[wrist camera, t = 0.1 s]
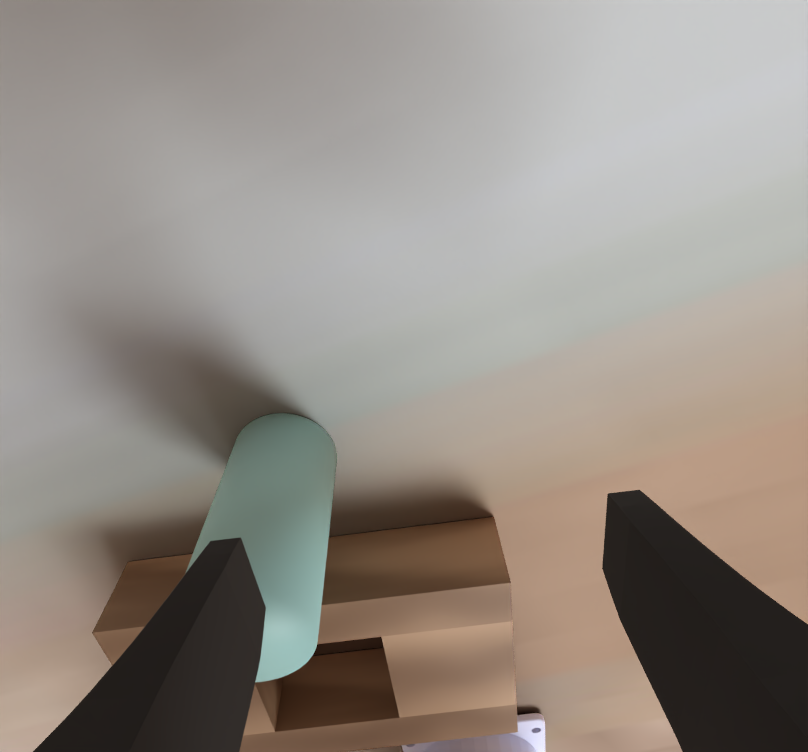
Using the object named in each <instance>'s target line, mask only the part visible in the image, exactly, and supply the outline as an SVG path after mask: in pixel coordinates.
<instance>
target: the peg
mask: <svg viewBox="0 0 808 752" xmlns="http://www.w3.org/2000/svg"><path fill="white" fill-rule="evenodd" d="M336 463H337V453H336V448H335V445H334V443H333V440H332V439H331V437H330V436H329V434H328V433H327V432H326V431H325V430H324V429H323V428H322V427H321V426H320V425H318V424H317V423H315V422H313V421H311V420H309V419H307V418H305V417H302V416H299V415H295V414H288V413H277V414H270V415H265V416H262V417H260V418H257V419H255V420H253V421H252V422H250V423H249V424H248V425H246V426H245V427H244V428H243V429H242V431H241V432H240V433H239V435H238V437H237V439H236V441H235V444H234V447H233V449H232V452H231V455H230V457H229V460H228V463H227V465H226V468H225V470H224V473H223V476H222V478H221V481H220V484H219V486H218V489H217V491H216V494H215V497H214V499H213V502H212V505H211V507H210V510H209V513H208V515H207V518H206V520H205V523H204V526H203V528H202V531H201V534H200V536H199V539H198V541H197V544H196V547H195V549H194V552H193V555H192V557H191V560H190V563H189V565H188V568H187V570H186V572H187V571H188V569H189V568H190V567H191V565H192V564H193V563H194V561H195V560H196V559H197V558H198V556H199V555H200V554H201V552H202V551H203V550H204V548H205V547H206V546H207V545H208V543H209V542H210V541H214V540H223V539H231V538H240V537H241V539H242V542H243V545H244V547H245V550H246V553H247V556H248V559H249V562H250V564H251V567H252V570H253V573H254V576H255V578H256V581H257V584H258V587H259V590H260V592H261V595H262V598H263V601H264V604H265V606H266V611H265V621H264V632H263V641H262V649H261V657H260V663H259V668H258V672H257V677H256V681H255V682H263V681H269V680H274V679H278V678H281V677H284V676H286V675H289V674H291V673H293V672H295V671H296V670H298V669H299V668H301V667H302V666H303V665H305V664H306V663H307V662H308V661H309V659H310V658H311V657H312V655H313V654H314V652H315V649H316V647H317V642H318V634H319V624H320V615H321V605H322V596H323V586H324V577H325V567H326V558H327V548H328V539H329V529H330V520H331V510H332V501H333V491H334V482H335V472H336Z"/></svg>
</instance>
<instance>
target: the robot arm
mask: <svg viewBox="0 0 808 752" xmlns="http://www.w3.org/2000/svg"><path fill="white" fill-rule="evenodd" d="M602 569H603V572H604V575H605V578H606V581H607V584H608V587H609V590H610V593H611V596H612V598H613V601H614V604H615V607H616V610H617V612H618V615H619V618H620V620H621V623H622V625H623V627H624V629H625V631H626V633H627V635H628V637H629V640H630V642H631V644H632V646H633V648H634V650H635V652H636V654H637V656H638V659H639V661H640V663H641V665H642V667H643V669H644V671H645V673H646V675H647V677H648V679H649V681H650V683H651V685H652V688H653V690H654V692H655V694H656V696H657V698H658V700H659V702H660V704H661V706H662V708H663V710H664V712H665V715H666V717H667V719H668V721H669V723H670V725H671V727H672V729H673V731H674V733H675V735H676V737H677V740H678V742H679V744H680V746H681V749H682V751H683V752H808V624H806V623H805V622H804V621H802V620H801V619H799V618H798V617H796V616H795V615H794V614H792V613H791V612H789V611H788V610H787V609H785V608H784V607H783V606H781V605H780V604H779V603H777V602H776V601H774V600H773V599H772V598H770V597H769V596H768V595H766V594H765V593H764V592H762V591H761V590H760V589H758V588H757V587H756V586H754V585H753V584H752V583H751V582H749V581H748V580H747V579H745V578H744V577H743V576H742V575H740V574H739V573H738V572H737V571H735V570H734V569H733V568H732V567H730V566H729V565H728V564H727V563H725V562H724V561H723V560H722V559H720V558H719V557H718V556H717V555H715V554H714V553H713V552H712V551H711V550H709V549H708V548H707V547H706V546H705V545H703V544H702V543H701V542H700V541H699V540H697V539H696V538H695V537H694V536H693V535H692V534H690V533H689V532H688V531H687V530H686V529H684V528H683V527H682V526H681V525H680V524H679V523H677V522H676V521H675V520H674V519H673V518H672V517H671V516H669V515H668V514H667V513H666V512H665V511H664V510H663V509H661V508H660V507H659V506H658V505H657V504H656V503H654V502H653V501H652V500H651V499H650V498H649V497H647V496H646V495H645V494H644V493H643V492H641V491H640V490H634V491H626V492H618V493H609V494H608V498H607V512H606V526H605V540H604V554H603V568H602ZM265 611H266V606H265V604H264V601H263V598H262V595H261V592H260V590H259V587H258V584H257V581H256V578H255V576H254V573H253V570H252V567H251V564H250V562H249V559H248V556H247V553H246V550H245V547H244V545H243V542H242V539H241V537H240V538H231V539H223V540H214V541H210V542H209V543H208V545H207V546H206V547H205V548H204V550H203V551H202V552H201V554H200V555H199V556H198V558H197V559H196V560H195V561H194V563H193V564H192V565H191V567H190V568H189V569H188V571H187V572H186V573H185V575H184V576H183V577H182V579H181V580H180V581H179V583H178V584H177V585H176V587H175V588H174V589H173V591H172V592H171V593H170V595H169V596H168V597H167V599H166V600H165V601H164V603H163V604H162V605H161V606H160V608H159V609H158V610H157V611H156V613H155V614H154V615H153V617H152V618H151V619H150V620H149V622H148V623H147V624H146V625H145V627H144V628H143V629H142V631H141V632H140V633H139V634H138V636H137V637H136V638H135V639H134V641H133V642H132V643H131V644H130V645H129V647H128V648H127V649H126V650H125V651H124V653H123V654H122V655H121V656H120V657H119V659H118V660H117V661H116V662H115V663H114V664H113V666H112V667H111V668H110V669H109V670H108V671H107V673H106V674H105V675H104V676H103V677H102V678H101V680H100V681H99V682H98V683H97V684H96V686H95V687H94V688H93V689H92V690H91V691H90V692H89V693H88V695H87V696H86V697H85V698H84V699H83V700H82V701H81V702H80V703H79V704H78V706H77V707H76V708H75V709H74V710H73V711H72V712H71V713H70V714H69V715H68V716H67V717H66V719H65V720H64V721H63V722H62V723H61V724H60V725H59V726H58V727H57V728H56V729H55V730H54V731H53V732H52V733H51V734H50V735H49V736H48V737H47V738H46V739H45V740H44V741H43V742H42V743H41V744H40V745H39V746H38V747H37V748H36V749H35V750H34V751H33V752H239V751H240V747H241V742H242V738H243V734H244V729H245V725H246V721H247V717H248V712H249V708H250V704H251V699H252V695H253V690H254V686H255V681H256V677H257V672H258V668H259V663H260V657H261V649H262V641H263V632H264V621H265ZM517 724H518V732H516V733H507V734H498V735H489V736H480V737H471V738H462V739H454V740H445V741H436V742H427V743H418V744H409V745H402V749H403V752H545V721H544V717H543V715H541V714H539V713H531V714H522V715H517Z"/></svg>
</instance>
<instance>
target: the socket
mask: <svg viewBox="0 0 808 752" xmlns="http://www.w3.org/2000/svg"><path fill="white" fill-rule="evenodd" d="M192 555H193V554H188V555H179V556H171V557H163V558H155V559H147V560H139V561H131V562H128V563H127V565H126V567H125V569H124V571H123V573H122V575H121V577H120V579H119V581H118V583H117V585H116V587H115V589H114V591H113V593H112V595H111V597H110V599H109V601H108V603H107V605H106V607H105V609H104V611H103V613H102V615H101V617H100V619H99V621H98V622H97V624H96V626H95V628H94V630H93V632H92V633H93V635H94V636H95V638H96V640H97V641H98V643H99V645H100V646H101V648H102V649H103V651H104V653H105V654H106V656H107V658H108V659H109V661H110V663H111V664H112V666H113V664H114V663H115V662H116V661H117V660H118V659H119V657H120V656H121V655H122V654H123V653H124V651H125V650H126V649H127V648H128V647H129V645H130V644H131V643H132V642H133V641H134V639H135V638H136V637H137V636H138V634H139V633H140V632H141V631H142V629H143V628H144V627H145V625H146V624H147V623H148V622H149V620H150V619H151V618H152V617H153V615H154V614H155V613H156V611H157V610H158V609H159V608H160V606H161V605H162V604H163V603H164V601H165V600H166V599H167V597H168V596H169V595H170V593H171V592H172V591H173V589H174V588H175V587H176V585H177V584H178V583H179V581H180V580H181V579H182V577H183V576H184V575H185V573H186V570H187V568H188V565H189V563H190V560H191V557H192ZM375 637H382V642H383V646H384V648H379V649H370V650H362V651H353V652H345V653H336V654H328V655H319V656H312V657H311V658H310V659H309V661H308V662H307V663H306V664H305V665H303V666H302V667H301V668H299V669H298V670H296V671H295V672H293V673H291V674H289V675H286V676H284V677H281V678H278V679H274V680H269V681H263V682H255V686H254V690H253V695H252V699H251V704H250V708H249V712H248V717H247V721H246V725H245V729H244V734H243V738H242V742H241V747H240V751H239V752H347V751H356V750H365V749H374V748H383V747H392V746H400V745H409V744H418V743H427V742H436V741H445V740H454V739H462V738H471V737H480V736H489V735H498V734H507V733H516V732H518V724H517V703H516V683H515V662H514V641H513V621H512V600H511V582H510V578H509V574H508V570H507V566H506V563H505V559H504V555H503V551H502V547H501V543H500V539H499V535H498V531H497V527H496V523H495V519H494V517H489V518H481V519H472V520H464V521H456V522H448V523H440V524H432V525H424V526H415V527H407V528H399V529H391V530H383V531H375V532H367V533H358V534H350V535H342V536H334V537H329V539H328V548H327V558H326V567H325V577H324V586H323V596H322V605H321V615H320V624H319V634H318V642H317V644H324V643H332V642H341V641H349V640H358V639H366V638H375Z"/></svg>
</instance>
